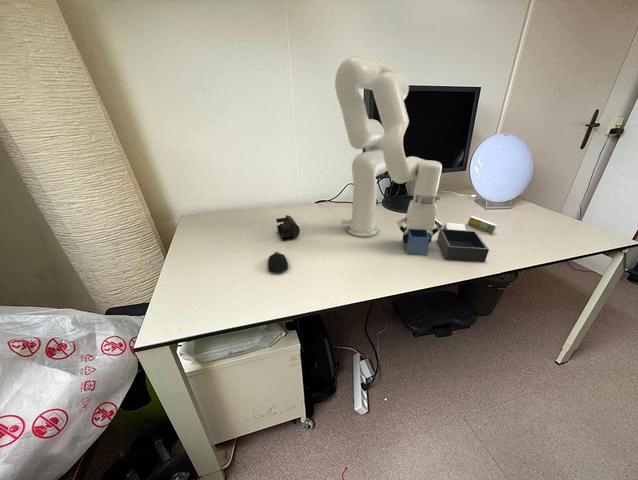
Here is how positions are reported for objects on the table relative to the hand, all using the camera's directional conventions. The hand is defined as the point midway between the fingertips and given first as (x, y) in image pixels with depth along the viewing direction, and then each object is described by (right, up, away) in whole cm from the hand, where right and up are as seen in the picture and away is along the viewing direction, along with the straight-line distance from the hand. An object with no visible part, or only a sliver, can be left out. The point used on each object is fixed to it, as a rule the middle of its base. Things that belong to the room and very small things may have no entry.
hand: (416, 243), depth 106 cm
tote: (+17, -3, 0) cm, 17 cm away
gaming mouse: (-51, -8, -11) cm, 53 cm away
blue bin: (0, -2, +1) cm, 2 cm away
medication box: (+34, +8, +18) cm, 39 cm away
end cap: (-51, +4, +7) cm, 51 cm away
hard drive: (+21, +6, +15) cm, 27 cm away
